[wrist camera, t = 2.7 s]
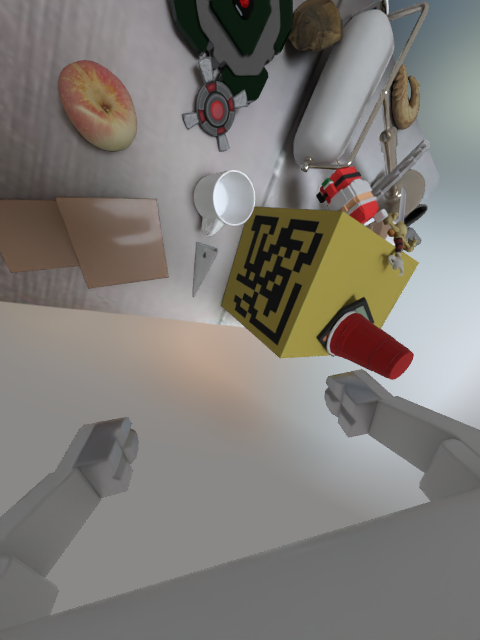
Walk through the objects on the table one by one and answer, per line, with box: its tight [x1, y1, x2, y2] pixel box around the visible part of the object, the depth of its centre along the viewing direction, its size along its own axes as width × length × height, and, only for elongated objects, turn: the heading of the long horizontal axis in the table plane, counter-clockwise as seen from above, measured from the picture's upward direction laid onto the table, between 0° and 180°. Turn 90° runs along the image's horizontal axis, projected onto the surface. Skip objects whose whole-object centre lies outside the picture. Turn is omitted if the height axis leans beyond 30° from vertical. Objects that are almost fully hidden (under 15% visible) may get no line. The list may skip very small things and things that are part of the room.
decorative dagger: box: [383, 187, 417, 276], centre depth 46 cm, size 10×3×30 cm
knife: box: [371, 139, 430, 202], centre depth 52 cm, size 5×1×30 cm
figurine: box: [316, 167, 388, 224], centre depth 42 cm, size 8×7×12 cm
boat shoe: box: [395, 204, 427, 227], centre depth 76 cm, size 8×25×7 cm, turn 115°
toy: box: [183, 57, 247, 152], centre depth 37 cm, size 12×12×1 cm
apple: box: [58, 60, 137, 151], centre depth 29 cm, size 9×9×8 cm
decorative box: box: [221, 207, 419, 358], centre depth 54 cm, size 26×37×30 cm
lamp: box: [294, 2, 429, 220], centre depth 51 cm, size 27×23×40 cm
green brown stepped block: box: [0, 197, 169, 289], centre depth 32 cm, size 11×21×15 cm, turn 89°
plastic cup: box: [326, 311, 413, 380], centre depth 40 cm, size 11×11×12 cm
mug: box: [194, 170, 255, 237], centre depth 42 cm, size 9×12×11 cm
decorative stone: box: [288, 0, 343, 53], centre depth 38 cm, size 10×9×4 cm
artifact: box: [392, 64, 420, 130], centre depth 58 cm, size 12×3×15 cm
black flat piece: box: [170, 0, 293, 103], centre depth 33 cm, size 18×18×5 cm
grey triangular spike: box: [193, 242, 218, 297], centre depth 52 cm, size 6×5×13 cm
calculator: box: [316, 297, 374, 356], centre depth 44 cm, size 9×12×3 cm
